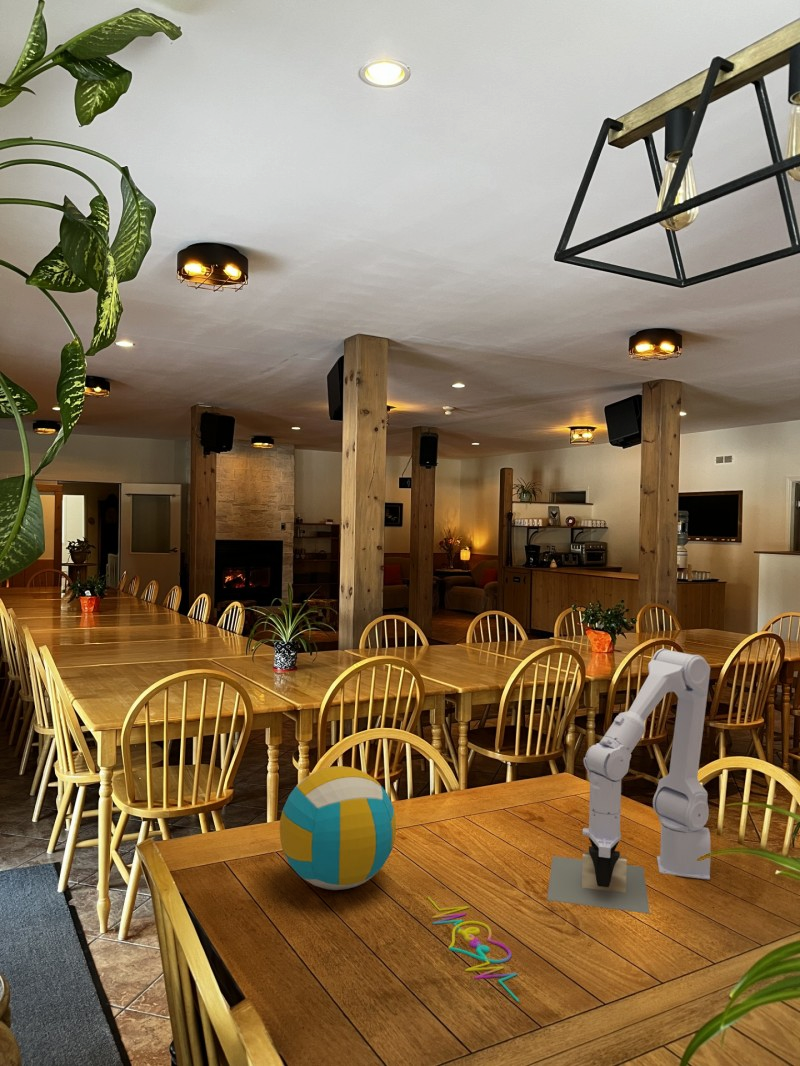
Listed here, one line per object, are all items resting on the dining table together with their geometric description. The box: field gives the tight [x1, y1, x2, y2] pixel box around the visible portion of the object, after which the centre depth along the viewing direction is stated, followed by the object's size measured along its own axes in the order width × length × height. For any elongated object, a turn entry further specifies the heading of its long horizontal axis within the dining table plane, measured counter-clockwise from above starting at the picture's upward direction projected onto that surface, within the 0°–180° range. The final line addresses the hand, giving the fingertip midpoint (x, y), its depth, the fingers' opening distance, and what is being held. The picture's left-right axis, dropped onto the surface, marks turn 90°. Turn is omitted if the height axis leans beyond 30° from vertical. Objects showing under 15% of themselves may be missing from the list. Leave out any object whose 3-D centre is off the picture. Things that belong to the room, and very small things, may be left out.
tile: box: [582, 851, 628, 893], centre depth 152 cm, size 8×2×6 cm, turn 76°
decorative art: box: [426, 896, 521, 1003], centre depth 132 cm, size 34×1×10 cm
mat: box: [546, 855, 650, 915], centre depth 154 cm, size 18×20×1 cm
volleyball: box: [279, 765, 397, 891], centre depth 152 cm, size 22×22×22 cm
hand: (603, 880), depth 152 cm, fingers open, 4 cm apart
